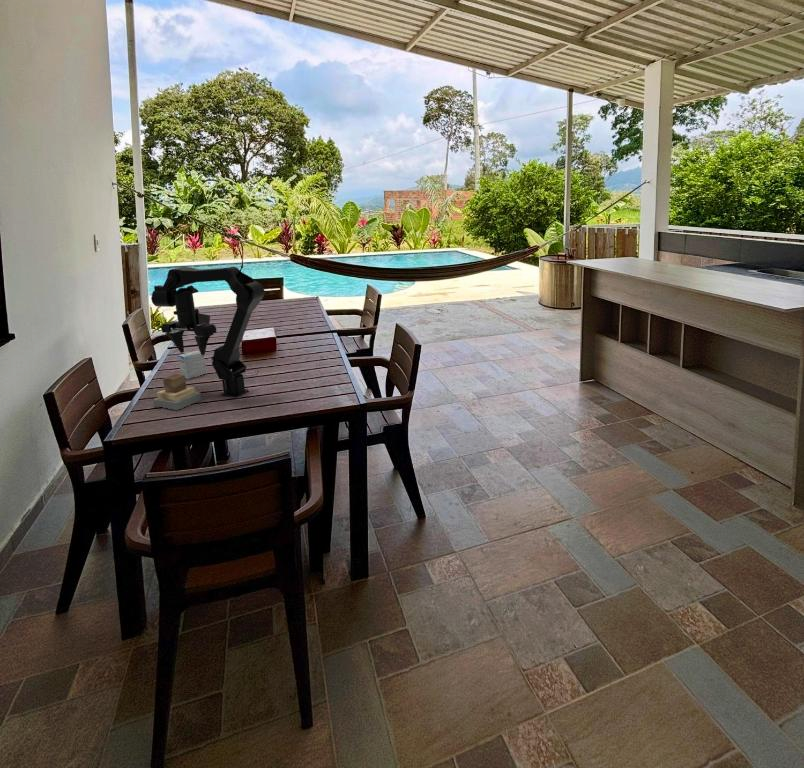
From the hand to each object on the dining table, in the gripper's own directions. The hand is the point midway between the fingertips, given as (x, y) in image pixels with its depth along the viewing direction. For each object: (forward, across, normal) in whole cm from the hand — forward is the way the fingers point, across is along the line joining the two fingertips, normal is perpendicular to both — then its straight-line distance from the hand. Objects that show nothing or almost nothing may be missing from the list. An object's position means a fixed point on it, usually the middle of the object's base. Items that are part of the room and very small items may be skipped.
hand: (192, 353), depth 183 cm
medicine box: (+13, +14, -12) cm, 23 cm away
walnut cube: (+8, -3, +12) cm, 15 cm away
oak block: (+10, -3, +12) cm, 16 cm away
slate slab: (+13, -3, +12) cm, 18 cm away
